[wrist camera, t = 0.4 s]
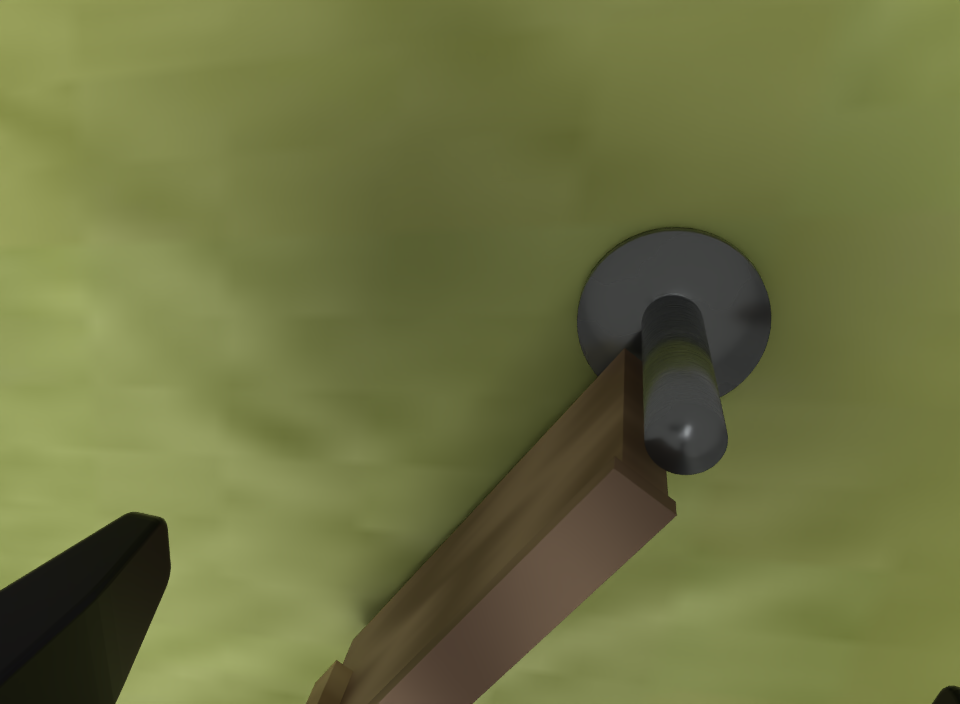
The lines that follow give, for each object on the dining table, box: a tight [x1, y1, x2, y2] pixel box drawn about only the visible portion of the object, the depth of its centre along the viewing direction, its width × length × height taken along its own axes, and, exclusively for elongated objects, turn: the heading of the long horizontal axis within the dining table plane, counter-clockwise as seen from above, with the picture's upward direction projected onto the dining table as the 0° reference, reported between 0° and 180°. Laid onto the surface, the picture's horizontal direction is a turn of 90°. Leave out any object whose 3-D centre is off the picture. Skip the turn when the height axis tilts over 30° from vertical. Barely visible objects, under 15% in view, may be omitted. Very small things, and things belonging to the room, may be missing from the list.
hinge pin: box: [577, 227, 771, 475], centre depth 20 cm, size 5×5×7 cm
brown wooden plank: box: [306, 348, 677, 704], centre depth 23 cm, size 14×2×6 cm, turn 144°
